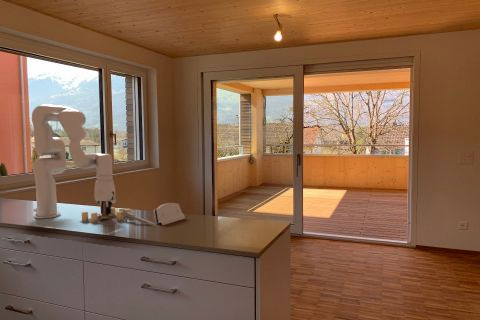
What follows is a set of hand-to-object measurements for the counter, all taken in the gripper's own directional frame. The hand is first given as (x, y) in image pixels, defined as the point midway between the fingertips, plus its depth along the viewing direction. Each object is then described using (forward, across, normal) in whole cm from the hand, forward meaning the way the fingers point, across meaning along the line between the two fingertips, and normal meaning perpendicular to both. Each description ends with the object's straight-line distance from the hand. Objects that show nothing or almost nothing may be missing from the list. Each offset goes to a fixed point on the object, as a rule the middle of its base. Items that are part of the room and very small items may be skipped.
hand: (106, 213), depth 183 cm
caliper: (+4, +20, 0) cm, 20 cm away
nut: (+3, -4, 0) cm, 5 cm away
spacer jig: (+4, 0, 0) cm, 4 cm away
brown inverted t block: (+2, 0, -1) cm, 2 cm away
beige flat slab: (+4, +30, +11) cm, 33 cm away
